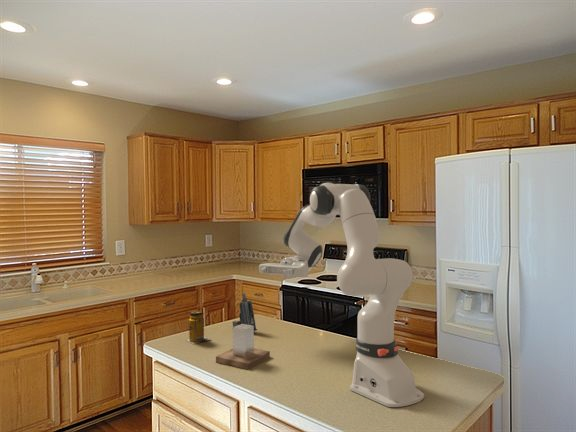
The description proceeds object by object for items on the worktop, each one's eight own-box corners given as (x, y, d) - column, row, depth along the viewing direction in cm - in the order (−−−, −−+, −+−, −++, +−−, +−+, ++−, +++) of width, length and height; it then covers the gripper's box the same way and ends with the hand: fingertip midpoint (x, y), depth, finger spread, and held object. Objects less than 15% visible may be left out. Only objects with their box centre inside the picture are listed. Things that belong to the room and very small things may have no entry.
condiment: (185, 340, 174) (185, 311, 174) (204, 336, 179) (204, 308, 179) (192, 344, 168) (192, 315, 168) (211, 340, 174) (211, 312, 173)
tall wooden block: (253, 352, 152) (253, 325, 152) (245, 357, 148) (245, 329, 147) (241, 350, 155) (241, 323, 155) (233, 354, 150) (232, 327, 150)
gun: (232, 296, 196) (251, 292, 186) (238, 332, 193) (257, 330, 183) (227, 296, 195) (246, 293, 184) (233, 333, 192) (252, 331, 181)
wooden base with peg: (269, 356, 154) (269, 337, 154) (248, 369, 142) (248, 349, 142) (239, 350, 161) (238, 332, 161) (215, 362, 148) (215, 342, 148)
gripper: (268, 258, 181) (250, 262, 169) (311, 261, 171) (295, 265, 159) (269, 273, 181) (251, 277, 169) (311, 276, 171) (295, 282, 159)
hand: (272, 272), depth 164 cm, fingers open, 8 cm apart
